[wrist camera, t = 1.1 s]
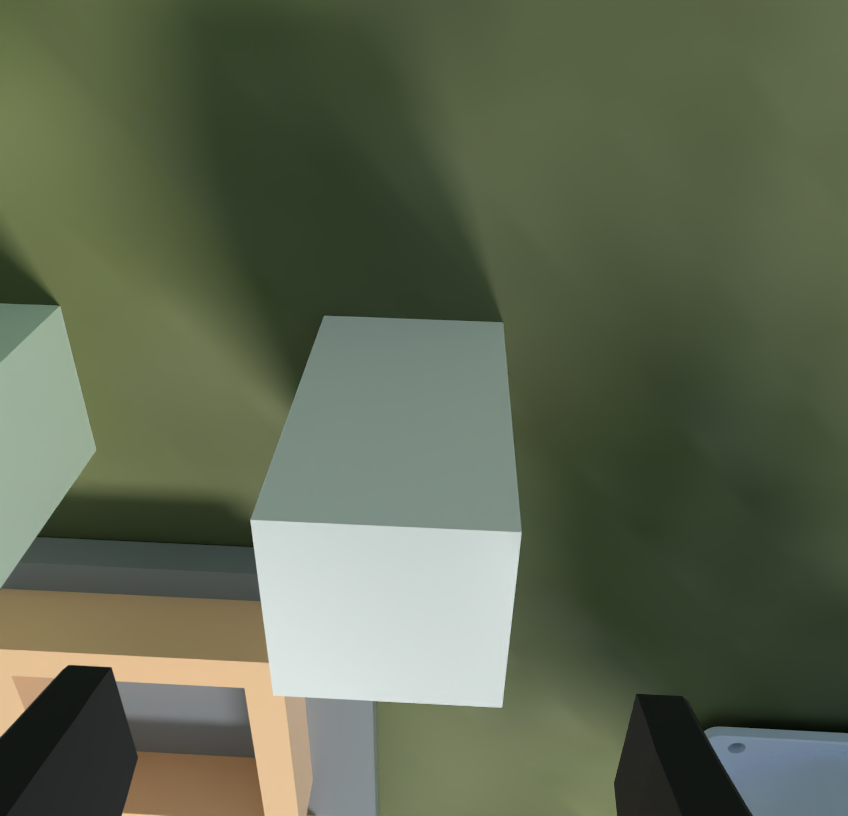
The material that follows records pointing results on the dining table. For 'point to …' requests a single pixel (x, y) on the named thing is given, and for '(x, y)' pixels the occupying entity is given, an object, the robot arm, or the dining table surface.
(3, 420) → the sage block
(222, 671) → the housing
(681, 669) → the dining table surface
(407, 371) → the grey-green rectangular block
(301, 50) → the dining table surface
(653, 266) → the dining table surface
